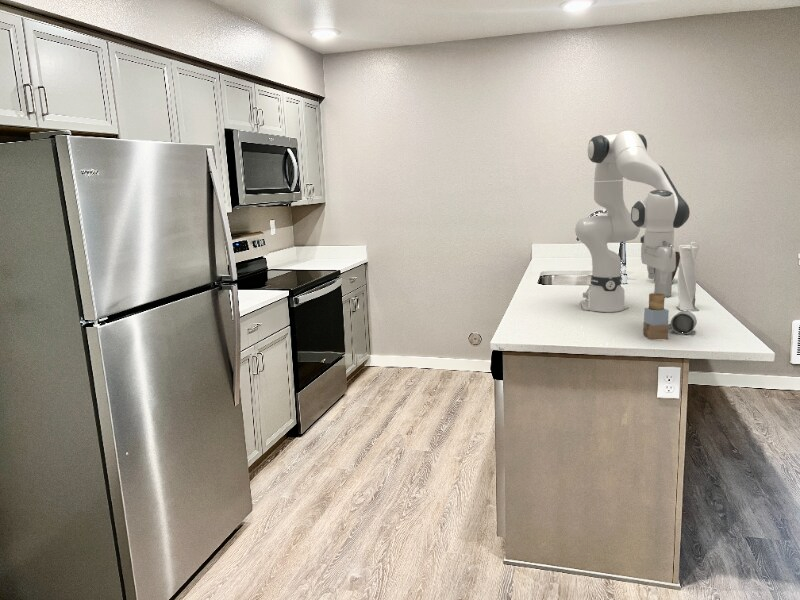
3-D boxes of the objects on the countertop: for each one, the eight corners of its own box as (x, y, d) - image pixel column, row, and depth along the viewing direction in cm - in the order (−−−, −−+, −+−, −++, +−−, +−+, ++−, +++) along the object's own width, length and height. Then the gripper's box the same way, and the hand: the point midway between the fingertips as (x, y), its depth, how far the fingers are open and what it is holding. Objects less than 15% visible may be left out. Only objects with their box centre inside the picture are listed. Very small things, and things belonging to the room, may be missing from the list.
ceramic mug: (696, 330, 211) (697, 309, 209) (694, 335, 204) (695, 313, 203) (664, 328, 216) (664, 307, 215) (661, 333, 209) (661, 312, 208)
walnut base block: (643, 335, 207) (643, 321, 206) (660, 335, 207) (661, 321, 206) (649, 340, 201) (650, 325, 200) (667, 339, 201) (668, 325, 200)
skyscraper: (700, 311, 239) (703, 242, 234) (678, 311, 241) (681, 242, 236) (694, 307, 247) (697, 240, 242) (673, 307, 249) (676, 240, 244)
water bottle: (674, 297, 269) (677, 242, 264) (657, 298, 269) (659, 242, 265) (666, 294, 278) (668, 240, 273) (649, 294, 278) (651, 241, 274)
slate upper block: (644, 322, 206) (644, 307, 205) (659, 321, 206) (659, 306, 205) (652, 325, 200) (653, 311, 199) (667, 324, 201) (668, 310, 200)
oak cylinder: (646, 307, 205) (646, 293, 204) (660, 307, 205) (660, 292, 204) (652, 310, 200) (652, 296, 199) (666, 310, 200) (667, 295, 199)
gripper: (682, 243, 188) (679, 286, 190) (656, 236, 208) (654, 275, 210) (662, 243, 188) (659, 287, 191) (638, 237, 208) (636, 276, 211)
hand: (656, 281), depth 201 cm, fingers open, 8 cm apart
